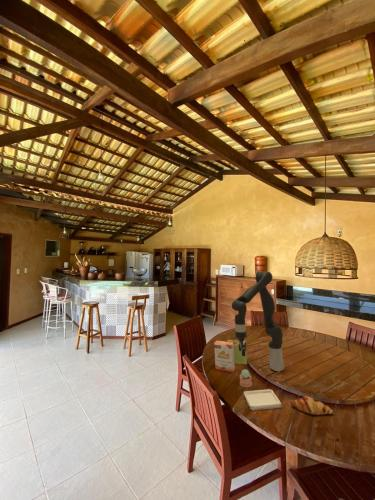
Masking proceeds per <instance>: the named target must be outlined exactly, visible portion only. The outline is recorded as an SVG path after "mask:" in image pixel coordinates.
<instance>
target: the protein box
mask: <svg viewBox="0 0 375 500" xmlns="http://www.w3.org/2000/svg"><path fill="white" fill-rule="evenodd" d="M244 340H245V342H246V343H247V341H246V339H244ZM227 342H233V346H234V365H237V364H238V365H248V356H247V355H248V352H247V349H246V351H245V356H242V351H239V345H238V343H237V339H227ZM243 349H244V347H243Z"/></svg>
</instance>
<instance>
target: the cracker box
mask: <svg viewBox="0 0 375 500" xmlns="http://www.w3.org/2000/svg"><path fill="white" fill-rule="evenodd" d="M213 343H214V363H215V365H214V366H215V370H219V371H224V372H229V373H233V372H234V371H235V365H236V364H234V346H233V342H228V341H224V340H216V341H215V342H213Z"/></svg>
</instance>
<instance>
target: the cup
mask: <svg viewBox="0 0 375 500" xmlns="http://www.w3.org/2000/svg"><path fill="white" fill-rule="evenodd" d="M239 378H240V380H239V385H240V386H241V387H243V388H251V387H252V386H253V382H252V380H253V377H252V375H251V374H250V373H249V377H248V378H243V377H242V375H241V374H239Z"/></svg>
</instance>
